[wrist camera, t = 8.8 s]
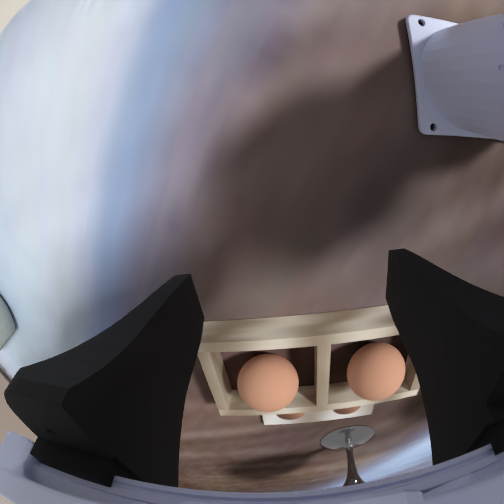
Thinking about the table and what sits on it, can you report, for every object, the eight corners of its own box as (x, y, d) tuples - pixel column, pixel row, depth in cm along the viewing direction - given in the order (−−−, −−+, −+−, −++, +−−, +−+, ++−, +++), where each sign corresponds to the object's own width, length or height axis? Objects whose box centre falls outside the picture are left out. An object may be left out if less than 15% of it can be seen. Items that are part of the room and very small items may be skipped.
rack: (431, 298, 22) (443, 317, 20) (399, 405, 29) (404, 422, 27) (199, 321, 24) (193, 343, 22) (233, 422, 31) (231, 440, 29)
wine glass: (374, 445, 34) (388, 538, 20) (318, 455, 35) (322, 550, 21) (381, 418, 30) (401, 529, 17) (315, 429, 31) (321, 544, 18)
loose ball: (281, 333, 24) (282, 381, 20) (306, 368, 26) (310, 413, 22) (228, 352, 26) (221, 398, 21) (257, 384, 27) (254, 427, 23)
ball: (400, 325, 23) (418, 368, 19) (391, 364, 26) (405, 406, 21) (344, 333, 24) (355, 380, 19) (341, 372, 26) (348, 416, 22)
